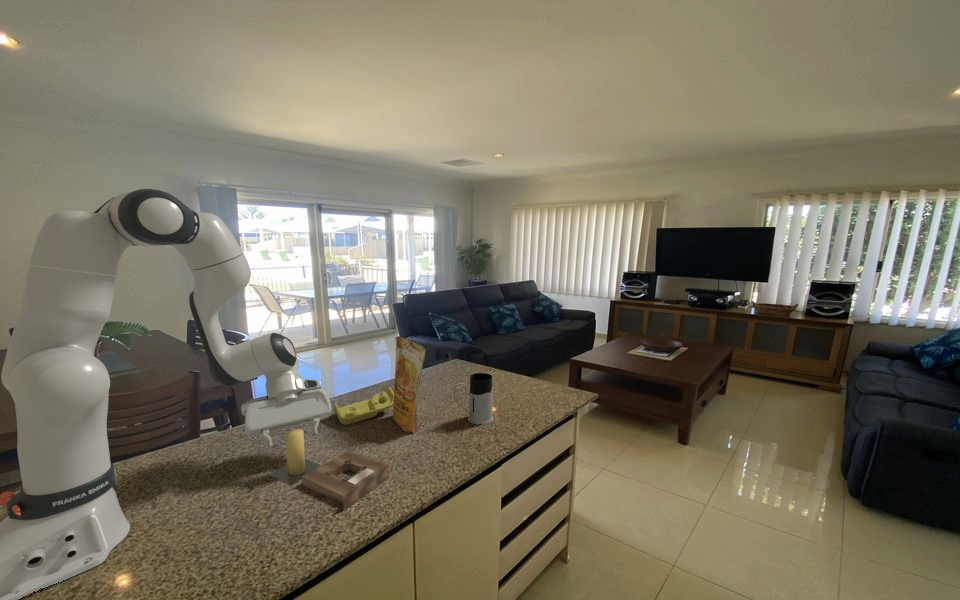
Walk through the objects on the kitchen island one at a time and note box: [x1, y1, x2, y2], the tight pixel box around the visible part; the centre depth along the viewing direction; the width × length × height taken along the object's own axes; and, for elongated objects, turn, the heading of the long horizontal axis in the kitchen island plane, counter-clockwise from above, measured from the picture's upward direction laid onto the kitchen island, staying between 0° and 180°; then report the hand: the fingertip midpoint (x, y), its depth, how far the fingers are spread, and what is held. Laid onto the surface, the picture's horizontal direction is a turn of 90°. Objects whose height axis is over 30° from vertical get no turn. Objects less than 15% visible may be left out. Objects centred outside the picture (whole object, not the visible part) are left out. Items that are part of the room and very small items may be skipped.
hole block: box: [301, 450, 390, 511], centre depth 91 cm, size 14×14×4 cm
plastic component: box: [332, 387, 394, 426], centre depth 131 cm, size 20×7×10 cm
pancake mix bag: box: [392, 335, 427, 434], centre depth 123 cm, size 7×19×28 cm, turn 33°
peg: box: [285, 428, 306, 475], centre depth 94 cm, size 4×4×10 cm
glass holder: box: [453, 372, 494, 425], centre depth 126 cm, size 9×14×15 cm, turn 115°
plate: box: [268, 458, 322, 487], centre depth 95 cm, size 9×9×2 cm
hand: (294, 441), depth 95 cm, fingers open, 8 cm apart
